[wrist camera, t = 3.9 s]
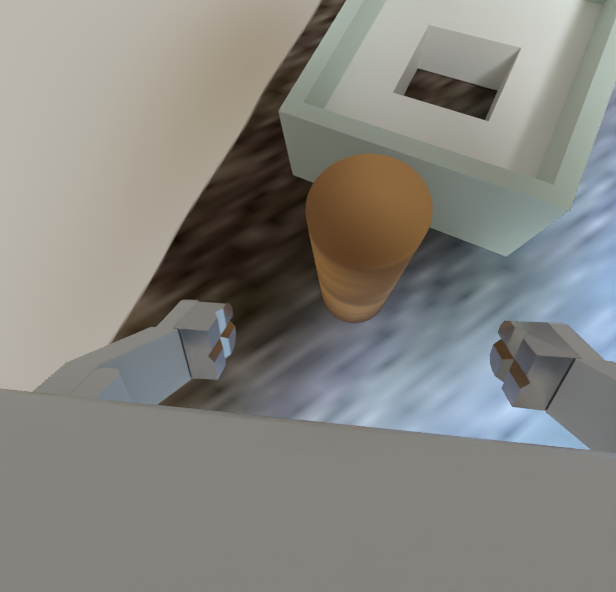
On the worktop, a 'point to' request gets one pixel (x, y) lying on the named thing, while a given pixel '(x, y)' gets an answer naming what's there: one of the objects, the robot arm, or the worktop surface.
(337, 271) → the peg
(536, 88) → the bore box
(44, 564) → the robot arm
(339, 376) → the worktop surface
